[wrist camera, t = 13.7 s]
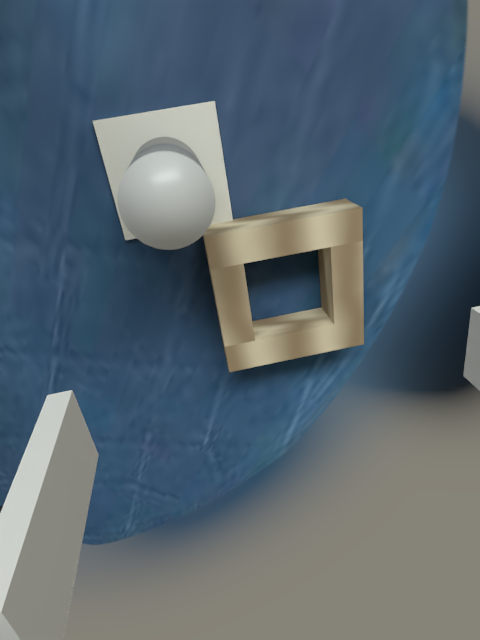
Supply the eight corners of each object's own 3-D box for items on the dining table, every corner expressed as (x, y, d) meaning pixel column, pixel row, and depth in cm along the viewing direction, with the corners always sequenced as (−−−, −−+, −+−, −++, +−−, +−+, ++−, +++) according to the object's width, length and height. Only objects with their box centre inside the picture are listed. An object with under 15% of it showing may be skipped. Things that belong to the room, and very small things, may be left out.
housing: (224, 351, 47) (229, 372, 44) (200, 225, 41) (204, 237, 37) (349, 326, 48) (364, 344, 44) (345, 198, 42) (362, 207, 38)
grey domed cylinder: (140, 214, 39) (131, 257, 28) (122, 143, 36) (105, 161, 26) (206, 202, 39) (222, 240, 29) (194, 131, 37) (206, 144, 26)
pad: (125, 239, 40) (125, 240, 40) (93, 120, 35) (92, 121, 35) (232, 219, 41) (232, 220, 40) (214, 100, 36) (214, 101, 36)
